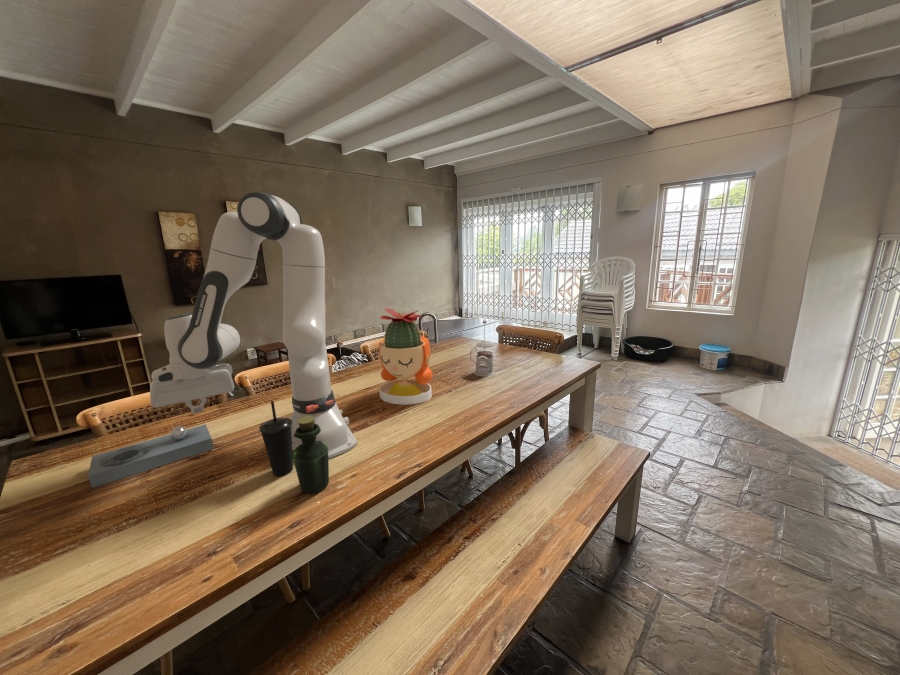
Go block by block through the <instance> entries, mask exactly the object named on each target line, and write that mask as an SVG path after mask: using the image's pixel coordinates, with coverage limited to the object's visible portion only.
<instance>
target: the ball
mask: <svg viewBox="0 0 900 675" xmlns="http://www.w3.org/2000/svg"><path fill="white" fill-rule="evenodd" d="M187 429H188V428H186V427H185V426H181V425H179V426H175V427H173V429H171V431H170V436H171V438H172V439H174V440H181V439H183V438H185V437H186V435H187Z"/></svg>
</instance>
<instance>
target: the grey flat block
mask: <svg viewBox="0 0 900 675" xmlns="http://www.w3.org/2000/svg"><path fill="white" fill-rule="evenodd" d="M186 429H187V435H186V437H185V438H183V439H181V440H174V439H172V438H171V436H170V434H166V435H163V436H162V435H161V436H159V437H155V438H152V439H148V440H145V441H142V442H141V441H140V442H138V443H134V444H130V445H126V446H124V447H120V448H116V449H113V450H112V449H111V450H109V451H106V452H102V453H98V454H95V455H92V456H91V460H90V465H89V469H88V474H87V477H88V481H89V484H90V487H91V489H94V488H97V487H100V486H104V485H106V484H109V483H112V482H115V481H119V480H122V479H126V478H128V477H131V476H135V475H137V474H140V473H144V472H146V471H149V470H154V469H156V468H159V467H163V466H165V465H167V464H168V465H169V464H171V463H174V462H175V463H176V462H178V461H181V460H183V459H187V458H190V457H193V456H196V455H199V454H203V453H205V452H208V450H209V451H212V450H214V449H215V448H214V447H215V446H214V443H213V439H212V436H211V433H210V432H209V429H208V426H207V424H206V423H205V424H202V425H198V426H194V427H191V428H186ZM202 452H203V453H202Z"/></svg>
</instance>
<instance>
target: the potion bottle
mask: <svg viewBox="0 0 900 675" xmlns="http://www.w3.org/2000/svg"><path fill="white" fill-rule="evenodd" d="M297 422H298V424H299V427H298V428H297V429H296V431H295V437H296V438H298V439H301V441H302V444H301V445H299V446H298V447H297V448H296V449H295V450H293V452H292V457H293V466H294V467H295V472H296V476H297V479H298V483H299V487H300V490H301V491H302V492H303V493H305V494H309V495H311V494H317V493H319V492H322V491H323V490H325V489H326V487H327V486H328V485H329V482H330V477H329V476H330V472H329V470H330V469H329V468H330V465H329V463H330V462H329V459H328V447H327V445H326V444H325V443H324V442H322V441H317V440H316V435H318V434H319V433H320V432H321V429H320V427H319V425H318V424H315V423H314V422H315V417H313V416H305V417H302V418H300V419H299V420H298V421H297Z"/></svg>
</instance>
